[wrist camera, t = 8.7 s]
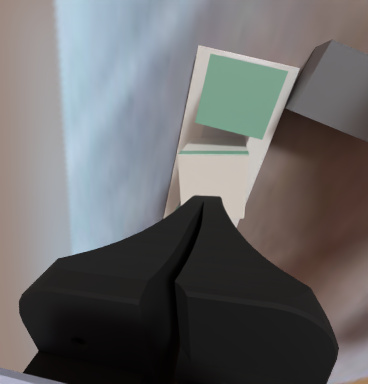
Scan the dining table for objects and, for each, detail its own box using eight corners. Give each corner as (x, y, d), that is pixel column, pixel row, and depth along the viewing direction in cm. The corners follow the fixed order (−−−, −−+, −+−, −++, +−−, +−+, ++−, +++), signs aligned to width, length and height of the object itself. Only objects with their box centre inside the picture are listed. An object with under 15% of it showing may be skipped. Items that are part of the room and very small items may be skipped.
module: (241, 186, 18) (244, 219, 14) (193, 184, 19) (180, 215, 15) (245, 136, 17) (249, 155, 12) (191, 137, 17) (177, 155, 13)
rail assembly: (296, 69, 15) (323, 62, 11) (231, 235, 22) (230, 273, 18) (200, 47, 16) (186, 31, 11) (165, 215, 23) (148, 248, 18)
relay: (397, 81, 15) (433, 80, 12) (355, 137, 17) (379, 146, 14) (314, 47, 15) (332, 39, 12) (282, 106, 17) (291, 110, 14)
